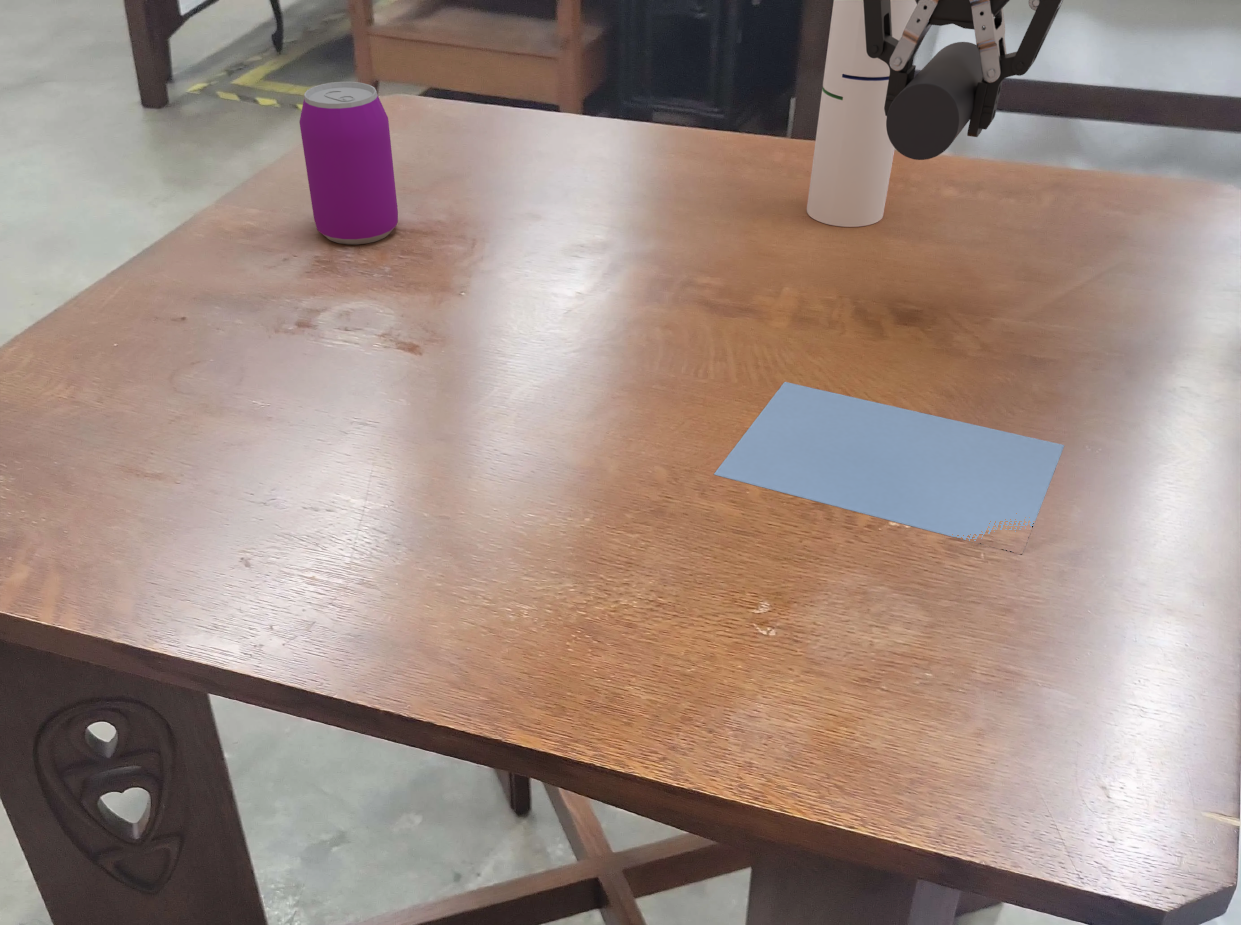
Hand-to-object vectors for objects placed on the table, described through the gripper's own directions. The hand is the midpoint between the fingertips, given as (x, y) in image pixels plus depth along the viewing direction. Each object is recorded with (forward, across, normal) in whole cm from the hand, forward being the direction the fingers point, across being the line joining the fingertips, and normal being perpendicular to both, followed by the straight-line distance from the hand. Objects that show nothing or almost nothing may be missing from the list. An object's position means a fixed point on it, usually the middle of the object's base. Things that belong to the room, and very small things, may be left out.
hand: (935, 127), depth 87 cm
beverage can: (+14, +49, +5) cm, 52 cm away
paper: (+14, -6, +22) cm, 27 cm away
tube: (+1, -1, 0) cm, 1 cm away
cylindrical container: (+14, +10, -19) cm, 26 cm away
